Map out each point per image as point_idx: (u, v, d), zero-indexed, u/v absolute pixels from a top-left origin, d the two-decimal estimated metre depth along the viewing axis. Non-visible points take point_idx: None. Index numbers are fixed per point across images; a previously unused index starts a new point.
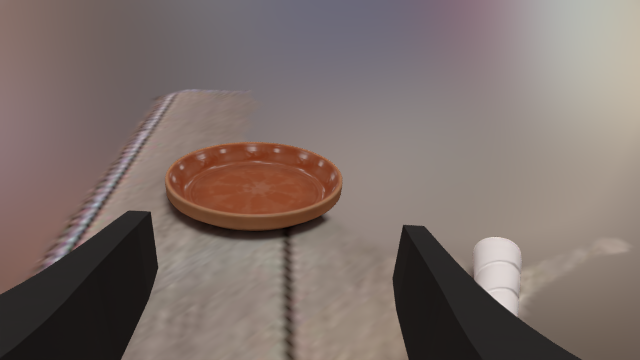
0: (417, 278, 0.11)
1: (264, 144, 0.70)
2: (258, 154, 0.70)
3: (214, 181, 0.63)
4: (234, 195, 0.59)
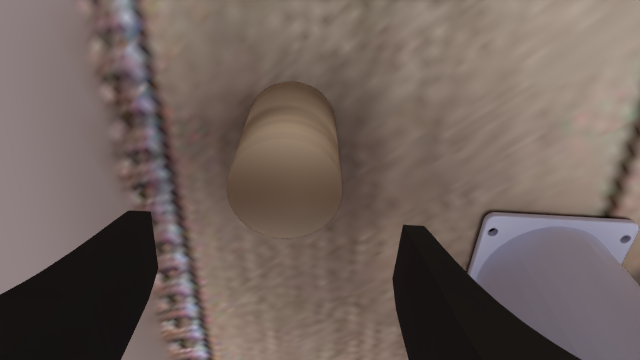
0: (417, 278, 0.11)
1: None
2: None
3: None
4: None
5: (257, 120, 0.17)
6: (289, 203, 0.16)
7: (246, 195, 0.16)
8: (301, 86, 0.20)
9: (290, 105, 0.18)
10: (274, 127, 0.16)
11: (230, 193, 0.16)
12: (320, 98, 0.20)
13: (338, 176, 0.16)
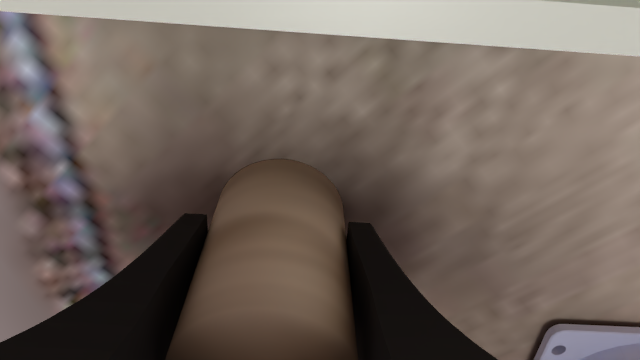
0: (356, 275, 0.11)
1: None
2: None
3: None
4: None
5: (221, 242, 0.11)
6: None
7: None
8: (293, 167, 0.13)
9: (275, 213, 0.11)
10: (245, 270, 0.09)
11: None
12: (322, 186, 0.13)
13: (353, 358, 0.09)
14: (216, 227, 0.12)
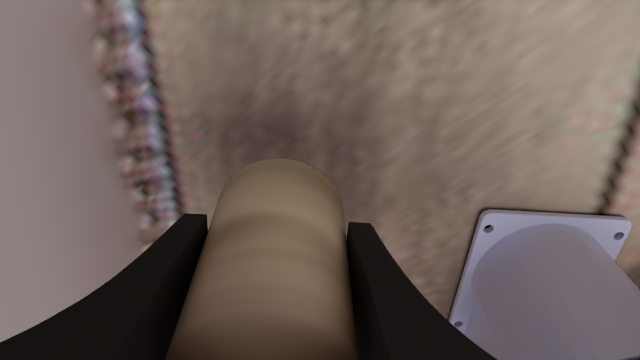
0: (355, 275, 0.11)
1: None
2: None
3: None
4: None
5: (221, 241, 0.11)
6: None
7: None
8: (293, 166, 0.13)
9: (275, 212, 0.11)
10: (245, 269, 0.09)
11: None
12: (321, 185, 0.13)
13: (353, 356, 0.09)
14: (216, 226, 0.12)
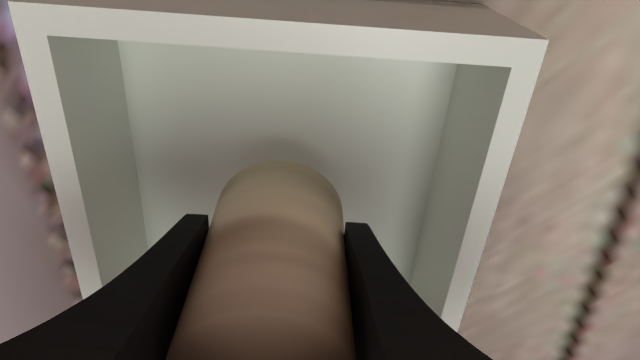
0: (351, 275, 0.11)
1: None
2: None
3: None
4: None
5: (221, 244, 0.11)
6: None
7: None
8: (293, 169, 0.13)
9: (275, 216, 0.11)
10: (245, 274, 0.09)
11: None
12: (321, 188, 0.13)
13: None
14: (216, 228, 0.12)
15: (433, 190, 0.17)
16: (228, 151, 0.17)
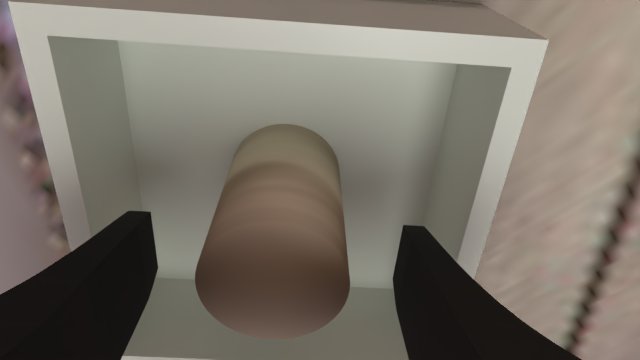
0: (416, 278, 0.11)
1: None
2: None
3: None
4: None
5: (239, 182, 0.13)
6: (279, 298, 0.12)
7: (221, 289, 0.12)
8: (297, 130, 0.16)
9: (283, 161, 0.14)
10: (260, 199, 0.12)
11: (200, 286, 0.12)
12: (321, 146, 0.16)
13: (345, 267, 0.12)
14: (233, 174, 0.14)
15: (433, 190, 0.17)
16: (228, 151, 0.17)
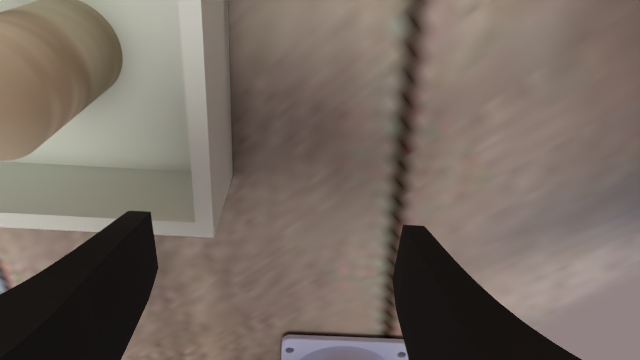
0: (416, 278, 0.11)
1: None
2: None
3: None
4: None
5: None
6: None
7: None
8: None
9: (20, 10, 0.15)
10: None
11: None
12: (87, 14, 0.17)
13: (35, 80, 0.13)
14: None
15: None
16: None
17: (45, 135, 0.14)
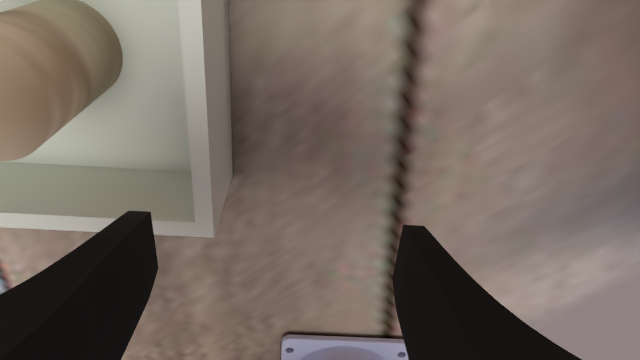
0: (416, 278, 0.11)
1: None
2: None
3: None
4: None
5: None
6: None
7: None
8: (66, 0, 0.17)
9: (20, 10, 0.15)
10: None
11: None
12: (87, 14, 0.17)
13: (35, 81, 0.13)
14: None
15: None
16: None
17: (45, 135, 0.14)
